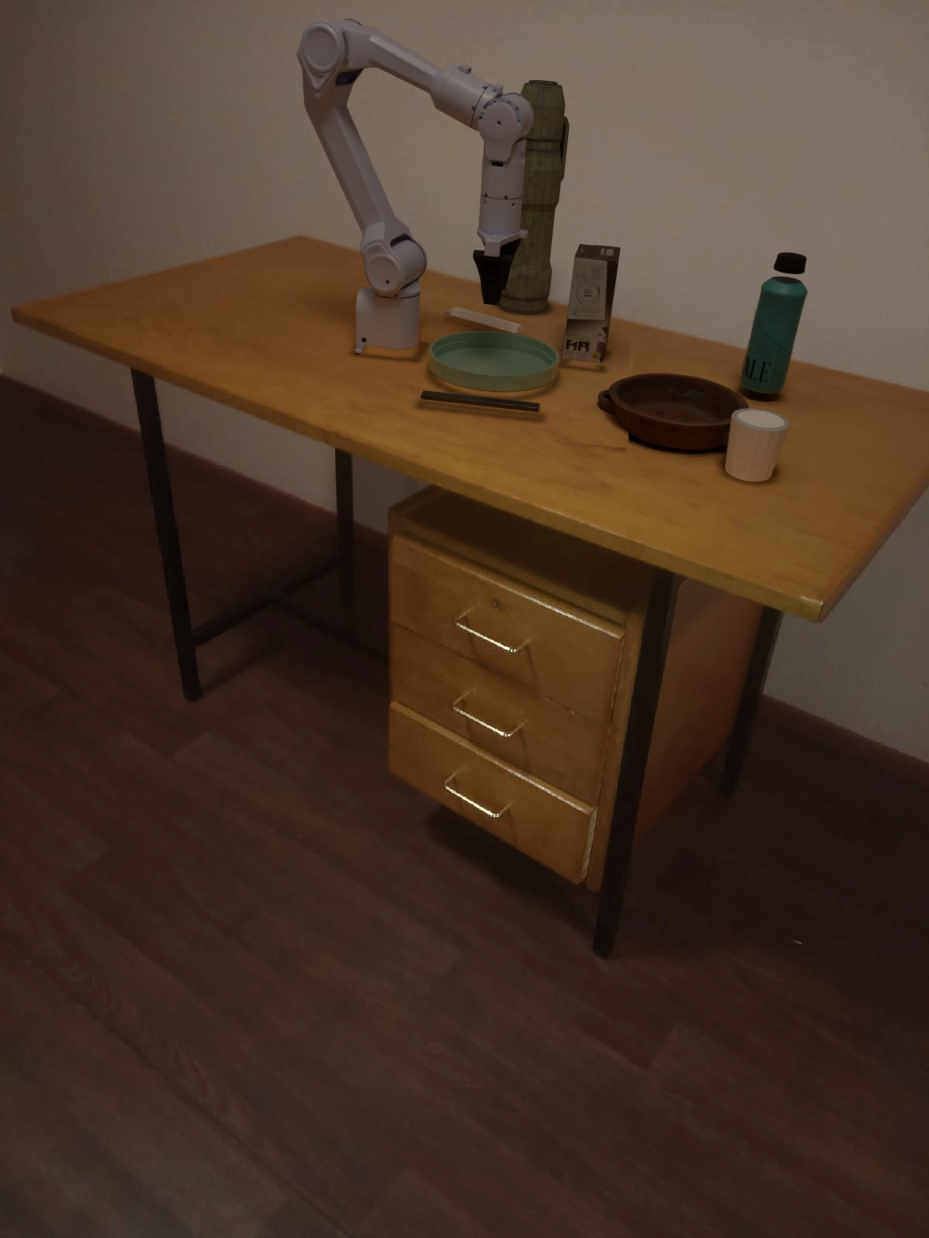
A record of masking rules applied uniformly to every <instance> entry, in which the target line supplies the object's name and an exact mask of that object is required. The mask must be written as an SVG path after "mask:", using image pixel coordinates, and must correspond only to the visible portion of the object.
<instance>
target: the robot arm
mask: <svg viewBox="0 0 929 1238" xmlns="http://www.w3.org/2000/svg"><path fill="white" fill-rule="evenodd" d="M295 57H296V59H297V60H298V63H299V66H300V67H301V76H302V77H301V78H302V89H303V90H302V92H303V104H304V108H305V111H306V114H307V116H308V118H309V119H310V120H309V121H310V122H311V125H312V127H313V129H314V131H315V133H316V135H317V138H318V140H319V142H320V144H321V146H322V149H323V150H324V153H325V155H326V157H327V160H328V161H329V164H330V166H331V169H332V170H333V173H334V175H335V177H336V179H337V181H338V183H339V186H340V188H341V190H342V192H343V194H344V197H345V199H346V202H347V203H348V205H349V208H350V210H351V212H352V214H353V216H354V219H355V221H356V223H357V226H358V227H359V229H360V232H361V238H360V245H359V253H360V255H361V257H362V259H363V263H364V264H363V265H364V276H365V280H366V281H367V284H368V285H369V287H360V288H359V290H358V293H357V296H356V302H355V349H354V353H355V354H359V355H360V354H361V353H362V351H363V349H364V348H365V347H372V348H378V349H383V350H387V351H388V350H389V351H407V350H412V349H414V348H417V347H418V346H419V344H420V342H419V341H420V315H421V285H420V278H422V277H423V276H424V274H425V273H426V271H427V267H428V256H427V252H426V250H425V248H424V246H423V245H422V244H421V243H420V242H419V241H417V239H416V238H414V237H413V235H412V232H411V231H410V228H409V226H408V225H406V224H405V222H403V221H402V220H400V219H399V218H398V217H397V216H396V215H395V212H394V210H393V208H392V205H391V203H390V201H389V198H388V196H387V194H386V192H385V190H384V187H383V185H382V183H381V180H380V178H379V176H378V174H377V172H376V169H375V167H374V165H373V162H372V159H371V158H370V155H369V153H368V151H367V149H366V146H365V144H364V142H363V140H362V138H361V137H362V136H361V135H360V133H359V130H358V128H357V125H356V124H355V122H354V118H353V117H352V115H351V112H350V110H349V108H348V102H349V99H350V96H351V93H352V90H353V87H354V84H355V83H356V81H357V80H358V79H359V78H360V76H361V74H362V73H363V72H364V71H365V69H374V68H375V69H378V70H381V71H383V72H385V73H387V74H389V75H391V76H393V77H395V78H397V79H399V80H402V81H403V82H406V83H407V84H409V85H412V86H414V87H416V88H418V89H419V90H422V91H423V92H425V93H427V94H429V96H430V98H431V101H432V104H433V106H434V108H435V109H436V110H438V111H439V112H441V113H443V114H445V115H446V116H448V117H450V118H452V119H453V120H455V121H457V122H459V123H460V124H463V125H464V126H465V127H467V128H470V129H471V130H473V131H475V132H478V133H479V135H480V137H481V139H482V141H483V151H482V153H483V154H482V163H481V178H480V179H481V182H480V193H479V194H480V195H479V213H478V214H479V216H478V226H477V228H476V235H477V237H478V238H480V240H481V243H482V245H483V248H484V249H474V250H473V252H472V259H473V262H474V264H475V266H476V269H477V273H478V276H479V282H480V289H481V290H480V291H481V298H482V302H483V305H488V306H499V301H500V298H501V294H502V290H505V287H506V285H507V281H508V277H509V273H510V268H511V264H512V261H513V259H514V257H515V256H514V255H515V253H516V250H517V249H518V247H519V245H520V243H521V240H522V238H527V236H528V231H527V230H521V229H520V219H521V207H522V195H523V182H524V170H525V150H526V139H524V140H522V139H523V138H525V137H526V136H527V135H528V133H529V132H530V130H531V128H532V125H533V111H532V108H531V106H530V104H529V102H528V101H527V100H526V99H525V98H523V97H522V96H521V95H520V94H521V93H519V92H516V91H511V92H506V93H504V92H503V89H504V86H503V85H502V84H500V83H497V82H496V83H494V84H492V83H490V82H488V81H486V80H484V79H483V78H481V77H479V76H477V75H476V74H474V73H472V71H473V67H472V66H470V65H468V64H467V63H460V64H459V65H457V64H455V63H451V64H448V65H447V66H445V67H443V68H442V67H439V66H438V65H436V64H434V63H433V62H431V61H430V60H428V59H426V58H425V57H423V56H422V55H420V54H418V53H417V52H415V51H413V50H412V49H410V48H409V47H407V46H405V45H404V44H403V43H400V42H399V41H397V40H396V39H394V38H393V37H391V36H389V35H387V34H386V33H384V32H383V31H382V30H380V29H378V28H376V27H374V26H372V25H368V24H364V23H363V22H361V21H360V20H358V19H356V18H350V17H349V18H344V19H340V20H326V19H317V20H314V21H312V22H310V23H309V24H308V25H307V26H306V27H305V29H304V30H303V33H302V35H301V38H300V42H299V44H298V48H297V50H296V53H295ZM520 140H521V141H520ZM518 141H519V142H518ZM516 142H517V143H516ZM514 143H515V144H514Z"/></svg>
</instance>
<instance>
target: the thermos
mask: <svg viewBox="0 0 929 1238" xmlns="http://www.w3.org/2000/svg"><path fill="white" fill-rule="evenodd" d="M519 94H520V95H521V96H522V97H523V98H525V99H526V100H527V101H528V102H529V104H530V106H531V108H532V111H533V125H532V128H531V130H530V132H529V133H528V135H527V136H526V137H525V138H523V139H522V140H524V139H526V150H525V170H524V182H523V195H522V207H521V219H520V229H521V230H527V231H528V236H527V238H522V240H521V243H520V245H519V247H518V249H517V250H516V253H515V255H514V256H515V257H514V259H513V261H512V264H511V268H510V273H509V277H508V281H507V285H506V287H505V290H502V294H501V298H500V301H499V304H498V306H499V308H500V309H501V310H503V311H506V312H508V313H513V314H521V315H537V314H541V313H545V312H546V311H548V305H549V304H548V301H549V296H550V294H551V287H552V286H551V285H552V277H553V267H552V264H551V256H552V255H551V254H552V247H553V245H552V244H553V238H554V237H553V235H554V228H555V217H556V216H555V215H556V209H557V207H558V204H559V202H560V197H561V196H560V195H561V186H562V182H563V180H564V179H565V173H566V164H567V163H566V162H567V152H568V143H569V133H570V122H569V118H568V117H567V116H566V115H565V112H566V101H565V95H564V89H563V85H561V84H559V82H557V81H554V80H545V79H530V80H528V82H524V83H523V85H522V88H521V91H520V93H519ZM520 141H521V140H520ZM518 142H519V141H518ZM516 143H517V142H516ZM514 144H515V143H514Z"/></svg>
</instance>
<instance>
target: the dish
mask: <svg viewBox="0 0 929 1238" xmlns="http://www.w3.org/2000/svg"><path fill="white" fill-rule="evenodd" d="M597 405H598V407H599V408H600V409H602V410H603V411H606V412H608V413H610V414H612V415H614V416H615V417H616V420H617V423H618V424H619V426H621V428H623V429H624V430H625V431H627V432H628V434H630V435H631V436H633V437H634V438H637V439H639V440H642V441H643V442H647V443H651V444H653V445H657V446H661V447H666V448H670V449H671V448H672V449H677V450H691V451H697V450H709V449H714V448H718V447H720V446H725V447H728V440H729V432H730V425H731V417H732V414H733V413H734V412H735V411H737V410H740V409H748V408H750V406H749V403H748V402H747V400H746V399H744V398H743V396H742V395H741V394H740V393H738V392H737V391H734V390H732V389H731V388H729V387H727V386H726V385H722V384H720V383H717V382H716V381H712V380H709V379H706V378H703V377H699V376H694V375H686V374H680V373H679V374H677V373H667V372H651V373H650V372H649V373H640V374H636V375H630V376H627V377H624V378H621V379H619V380H616V381H615V382H614V383H612V384H611V385H609V388H608V389H604V390H601V391H600V392H599V393H598V394H597Z"/></svg>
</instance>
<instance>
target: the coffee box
mask: <svg viewBox="0 0 929 1238" xmlns="http://www.w3.org/2000/svg"><path fill="white" fill-rule="evenodd" d="M620 253H621V246H612V245H602V244H601V245H599V244H585V243H579V245H578V247H577V249H576V252H575V254H574V258H573V268H572V273H571V275H572V276H571V283H570V292H569V299H568V308H567V316H566V324H565V332H564V339H563V348H562V350H563V351H562V356H561V358H562V360H570V361H578V362H586V363H594V364H603V362H604V358H605V355H606V350H607V346H608V339H609V333H610V326H611V320H612V314H613V306H614V298H615V294H616V293H615V291H616V283H617V278H618V277H617V276H618V271H619V261H620Z"/></svg>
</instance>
